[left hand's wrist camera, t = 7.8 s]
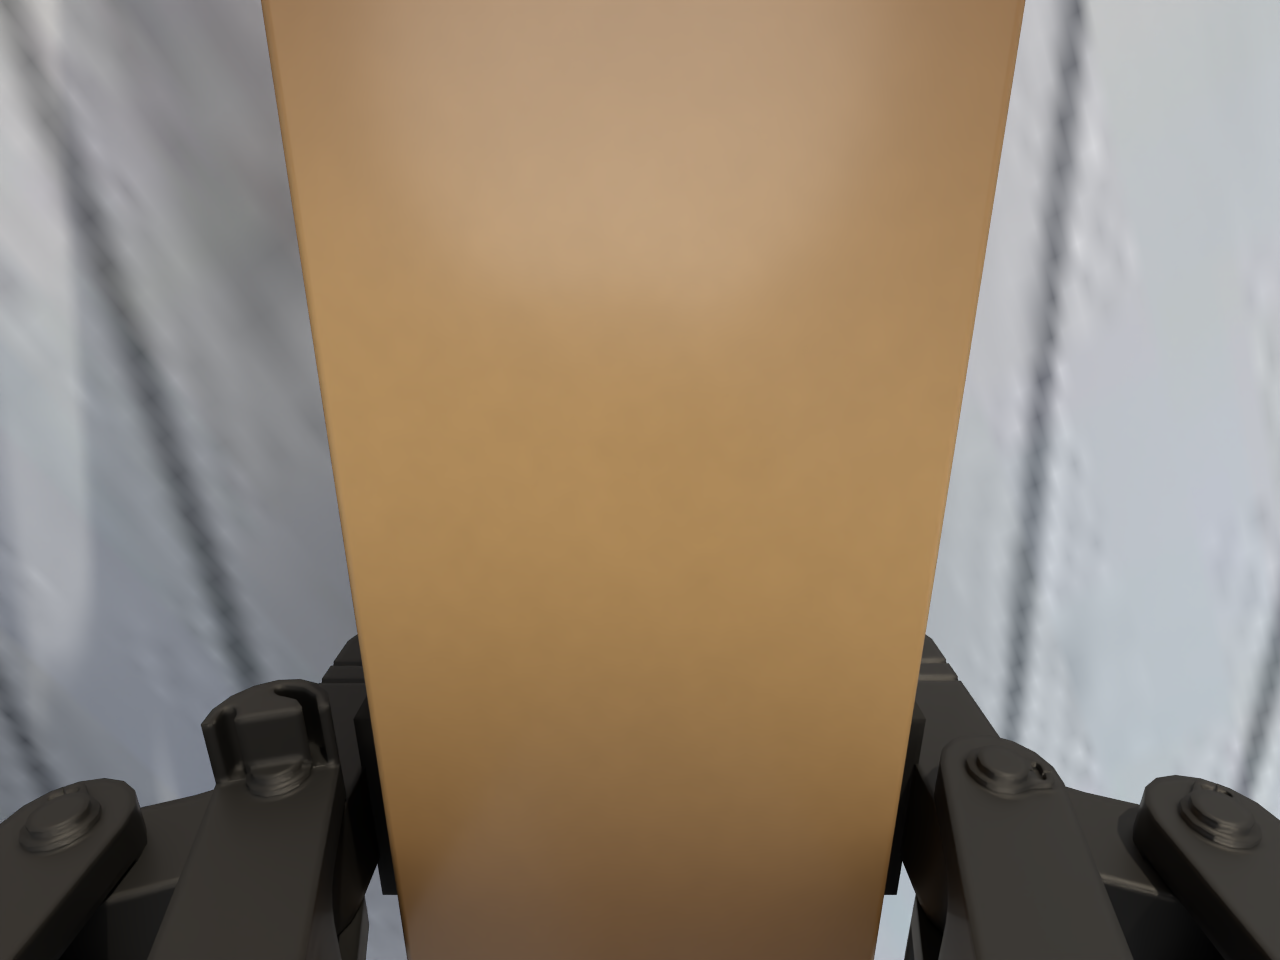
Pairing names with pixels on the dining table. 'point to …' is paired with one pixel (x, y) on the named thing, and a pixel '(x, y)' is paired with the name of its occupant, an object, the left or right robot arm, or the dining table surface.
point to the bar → (642, 441)
